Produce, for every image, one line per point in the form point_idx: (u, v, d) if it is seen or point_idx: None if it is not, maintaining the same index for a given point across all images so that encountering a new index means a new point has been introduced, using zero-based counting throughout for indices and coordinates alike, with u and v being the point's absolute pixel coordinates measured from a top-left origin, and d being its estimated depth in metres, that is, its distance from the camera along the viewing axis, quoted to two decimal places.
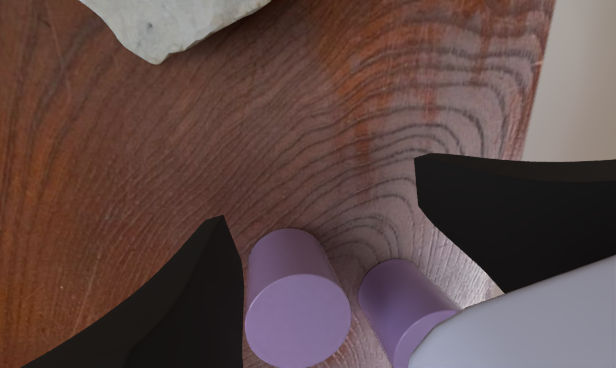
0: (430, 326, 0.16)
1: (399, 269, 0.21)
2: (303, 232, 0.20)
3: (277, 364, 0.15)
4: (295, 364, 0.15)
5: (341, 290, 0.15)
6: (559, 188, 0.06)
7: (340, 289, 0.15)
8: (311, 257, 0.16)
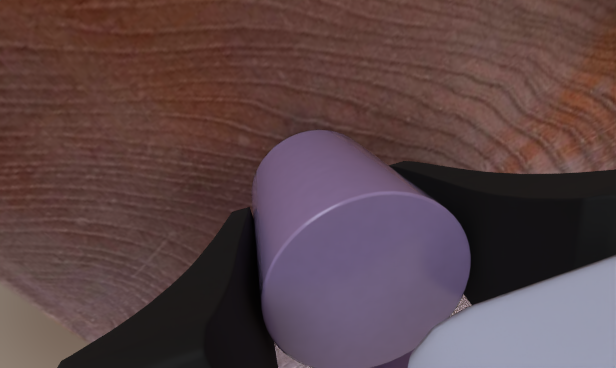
0: None
1: None
2: None
3: (271, 319, 0.07)
4: (289, 342, 0.07)
5: (457, 302, 0.08)
6: (513, 203, 0.06)
7: (459, 300, 0.08)
8: None
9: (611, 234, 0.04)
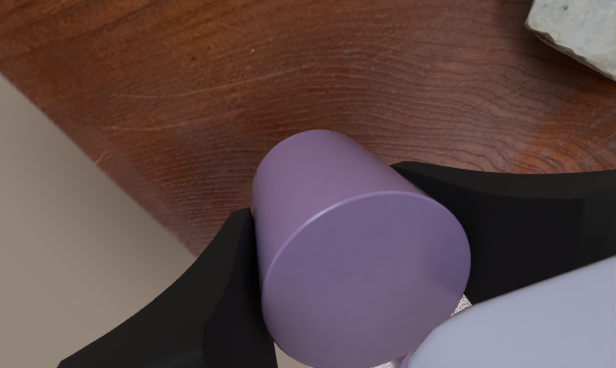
0: None
1: None
2: None
3: (271, 319, 0.07)
4: (289, 342, 0.07)
5: (458, 302, 0.08)
6: (513, 203, 0.06)
7: (459, 300, 0.08)
8: None
9: (611, 234, 0.04)
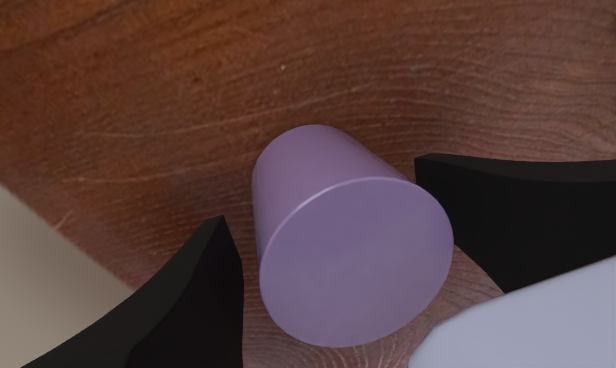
0: None
1: None
2: None
3: (268, 296, 0.08)
4: (285, 318, 0.08)
5: (442, 283, 0.09)
6: (559, 188, 0.06)
7: (443, 281, 0.09)
8: None
9: None
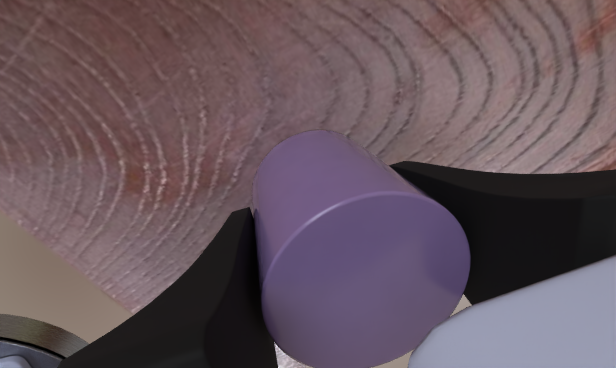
0: (420, 229, 0.07)
1: None
2: None
3: None
4: None
5: None
6: (513, 203, 0.06)
7: None
8: None
9: (611, 234, 0.04)
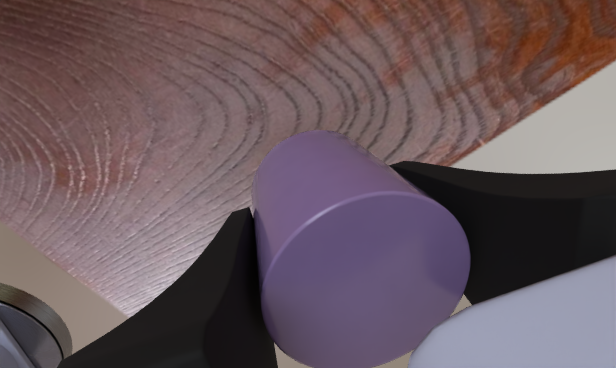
0: (421, 229, 0.07)
1: None
2: None
3: None
4: None
5: None
6: (513, 203, 0.06)
7: None
8: None
9: (611, 234, 0.04)
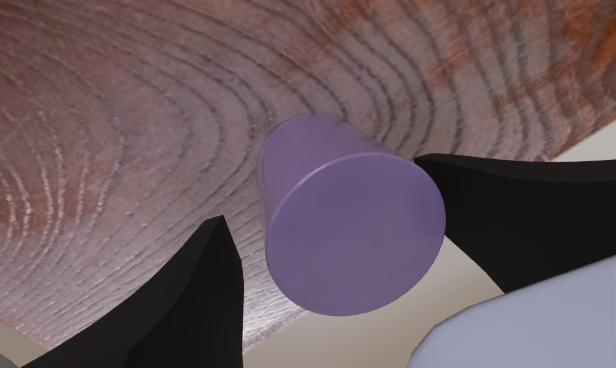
0: (401, 187, 0.08)
1: None
2: None
3: None
4: None
5: None
6: (560, 188, 0.06)
7: None
8: None
9: None
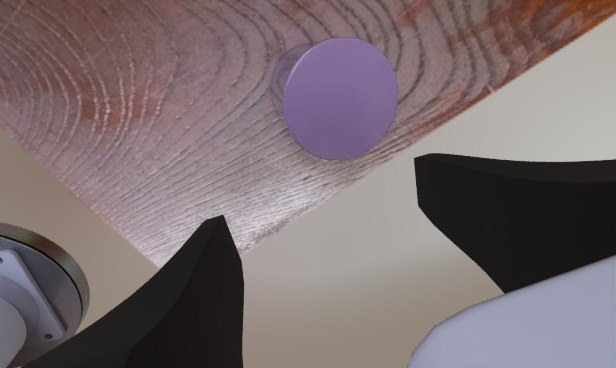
0: (367, 63, 0.13)
1: None
2: None
3: None
4: None
5: None
6: (559, 188, 0.06)
7: None
8: None
9: None
